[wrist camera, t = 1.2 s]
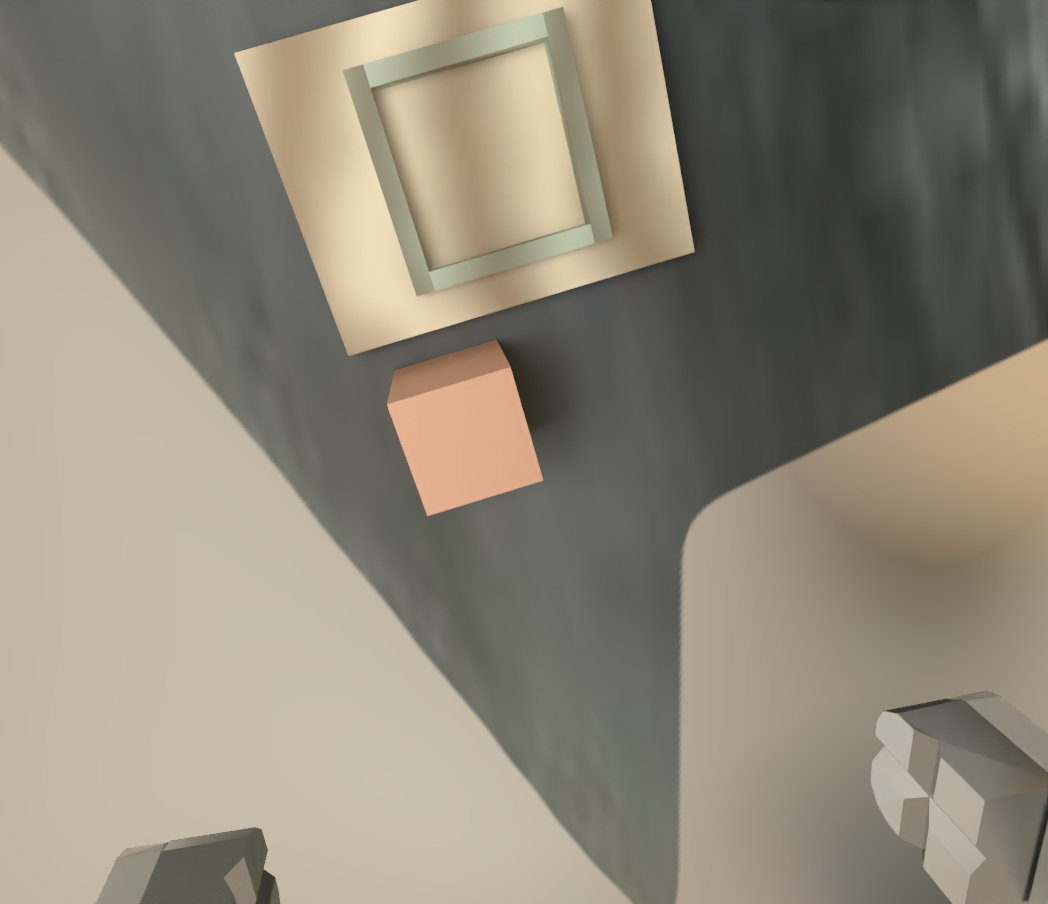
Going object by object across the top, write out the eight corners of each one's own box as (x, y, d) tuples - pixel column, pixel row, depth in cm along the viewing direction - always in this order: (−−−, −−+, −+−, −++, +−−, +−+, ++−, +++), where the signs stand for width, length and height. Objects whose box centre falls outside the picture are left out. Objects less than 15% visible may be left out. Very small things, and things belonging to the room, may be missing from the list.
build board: (629, -49, 27) (647, -73, 25) (682, 249, 32) (702, 253, 29) (244, 61, 27) (226, 47, 24) (352, 349, 31) (345, 360, 29)
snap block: (496, 339, 32) (510, 367, 26) (524, 435, 34) (543, 480, 28) (394, 370, 32) (386, 404, 26) (428, 464, 34) (427, 516, 28)
